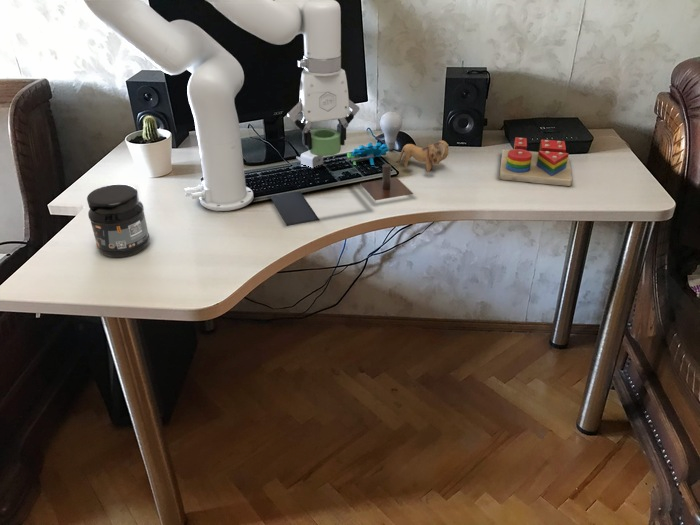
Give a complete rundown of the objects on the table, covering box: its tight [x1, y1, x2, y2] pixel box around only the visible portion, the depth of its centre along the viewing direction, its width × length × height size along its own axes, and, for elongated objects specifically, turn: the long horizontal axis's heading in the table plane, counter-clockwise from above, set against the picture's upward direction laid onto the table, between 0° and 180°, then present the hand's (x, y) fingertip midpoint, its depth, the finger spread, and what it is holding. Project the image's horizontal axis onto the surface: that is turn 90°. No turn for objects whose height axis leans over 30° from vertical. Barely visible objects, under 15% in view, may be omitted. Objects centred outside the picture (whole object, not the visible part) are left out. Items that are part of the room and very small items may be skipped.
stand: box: [359, 163, 414, 201], centre depth 143 cm, size 10×10×7 cm
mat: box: [269, 190, 320, 226], centre depth 140 cm, size 20×15×1 cm
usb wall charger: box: [295, 150, 324, 169], centre depth 157 cm, size 4×7×4 cm, turn 49°
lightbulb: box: [379, 111, 403, 151], centre depth 165 cm, size 6×6×11 cm
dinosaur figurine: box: [346, 142, 390, 166], centre depth 157 cm, size 11×6×10 cm
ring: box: [308, 127, 342, 157], centre depth 132 cm, size 7×7×4 cm
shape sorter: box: [499, 136, 573, 187], centre depth 155 cm, size 18×17×6 cm
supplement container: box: [86, 183, 151, 258], centre depth 121 cm, size 10×10×12 cm
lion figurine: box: [395, 140, 450, 172], centre depth 154 cm, size 15×5×9 cm, turn 67°
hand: (324, 145), depth 133 cm, fingers closed on ring, 7 cm apart
